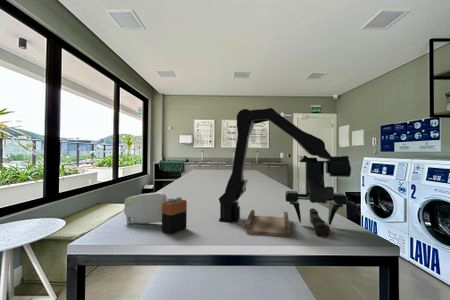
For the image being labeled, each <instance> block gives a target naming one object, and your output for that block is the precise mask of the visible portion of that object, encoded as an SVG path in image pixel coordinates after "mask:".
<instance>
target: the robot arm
mask: <svg viewBox="0 0 450 300" xmlns="http://www.w3.org/2000/svg"><path fill="white" fill-rule="evenodd" d="M264 122H265V123H266V122H270V123H272V124H273V125H274V126H276V127H277V128H278V129H280V130H281V131H282V132H284V133H285V134H286V135H288V136H289V137H290V138H291V139H293V140H295V141H296V142H297V144H298V145H299V146H300V147H301V148H302V149H303V150H304V151H305V153H306V154H308V155H310V156H312V157H309V156H307V155H303V156H302V158H301V159H299V162H300V163H305V193H299V192H298V191H297V190H286V191H285V192H284V193H285V194H284V196H285V197H284V199H285V202H288V203H289V204H290V205H293V207H294V209H295V212H296V216H297V219H298V222H299V223H300V224H301V223H302V215H301V209H300V202H299V200H305V201H308V200H309V202H310V203H312V204H317V203H318V204H319V203H321V204H327V203H328V202H329V203H328V204H329V205H328V217H327V219H328V226H329V225H331V224H332V222H333V219H334V217H335V215H336V213H337V212H338V210H339V209H340V208H343V207H344V205H345V206H346V205H347V206H348V205H349V199H348V196H347V195H345V194H344V193H342V192H335V189H334V187H333V186H326V185H325V174H328V176H329V177H330V178H331V177H334V178H335V177H336V178H350V177H351V173H352V166H351V163H350V160H349V159H350V158H349V156H348V155H341V156H331V154H330V152H329V151H328V150H327V149H326V144H325V141H324V140H322V139H321V138H319V137H317V136H315V135H313V134H311V133H308V132H306V131H304V130H302V129H301V128H299V127H298V126H296V125H295V124H294V123H292V122H291V121H289V120H288V119H287V118H285V117H284V116H282V115H281V114H280V113H279V112H277V111H276V109H274V108H272V107H267V108H264V109H263V108H262V109H251V110H250V109H249V108H248V109H247V108H243V109H240V110H239V111H238V112H237V114H236V130H237V138H236V144H235V151H234V158H233V162H232V171H231V174H230V177H229V178H228V181H227V183H226V187H225V190H224V192H223V194H222V195H220V196H219V198H218V202H219V203H220V204H219V207H220V208H219V209H220V210H219V212H220V215H219V217H220V218H219V219H218V222H228V223H238V221H239V220H240V218H241V206H240V202H239V199H240V198H241V197H242V196H243V195H244V193H245V192H246V191H247V189H246V188H247V183H248V179H245V177H244V172H245V167H246V159H247V152H248V146H249V139H250V135H251V134H252V131H253V129H254V126H255V125H256V124H260V123H264ZM313 156H314V157H313ZM315 156H316V157H315ZM317 157H318V158H320V159H322V160H318V158H317Z"/></svg>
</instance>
